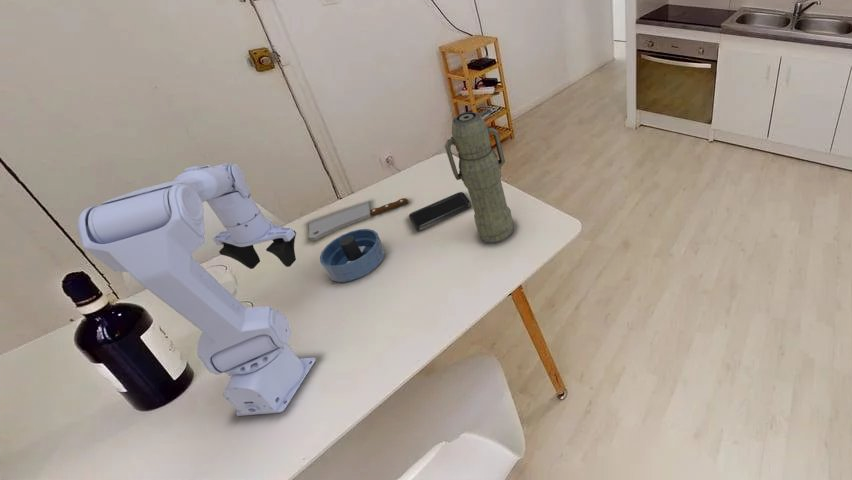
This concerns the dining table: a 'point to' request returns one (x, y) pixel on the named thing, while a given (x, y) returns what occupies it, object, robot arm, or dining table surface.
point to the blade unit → (351, 249)
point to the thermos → (481, 175)
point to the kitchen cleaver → (347, 218)
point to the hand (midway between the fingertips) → (273, 264)
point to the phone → (439, 211)
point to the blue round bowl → (342, 272)
